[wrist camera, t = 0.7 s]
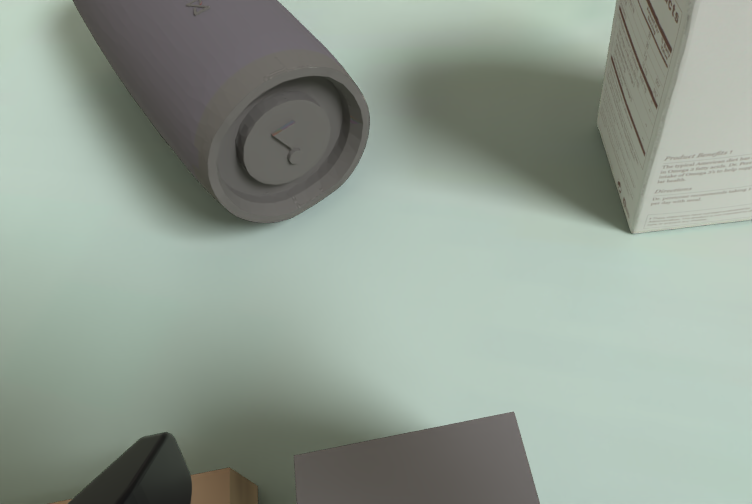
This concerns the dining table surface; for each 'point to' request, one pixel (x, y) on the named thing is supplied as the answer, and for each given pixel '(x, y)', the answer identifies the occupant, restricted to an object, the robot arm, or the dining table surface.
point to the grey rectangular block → (423, 467)
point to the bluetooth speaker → (238, 97)
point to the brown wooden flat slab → (218, 488)
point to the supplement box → (679, 112)
